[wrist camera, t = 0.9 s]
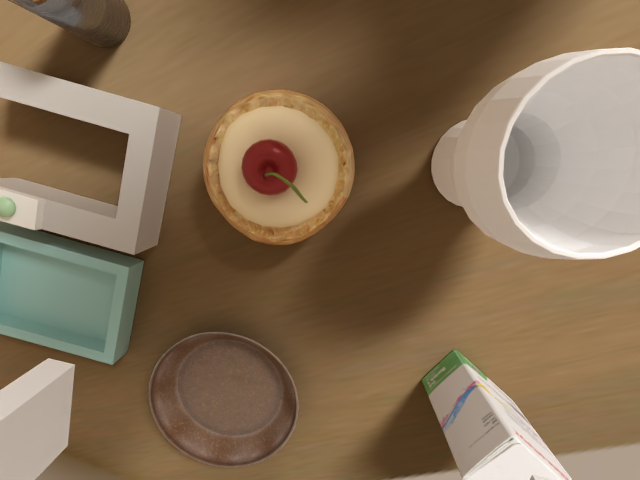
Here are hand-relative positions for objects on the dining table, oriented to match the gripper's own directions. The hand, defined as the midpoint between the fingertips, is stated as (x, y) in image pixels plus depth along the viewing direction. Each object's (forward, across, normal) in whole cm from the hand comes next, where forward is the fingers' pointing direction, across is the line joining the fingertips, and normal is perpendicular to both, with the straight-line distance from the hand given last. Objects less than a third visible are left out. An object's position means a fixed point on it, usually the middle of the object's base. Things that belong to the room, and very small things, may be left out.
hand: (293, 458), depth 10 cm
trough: (+23, -24, -10) cm, 35 cm away
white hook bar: (+24, -22, +3) cm, 33 cm away
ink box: (+24, +17, -10) cm, 31 cm away
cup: (+24, +11, +11) cm, 29 cm away
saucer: (+24, -6, -16) cm, 30 cm away
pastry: (+24, -5, +7) cm, 25 cm away
